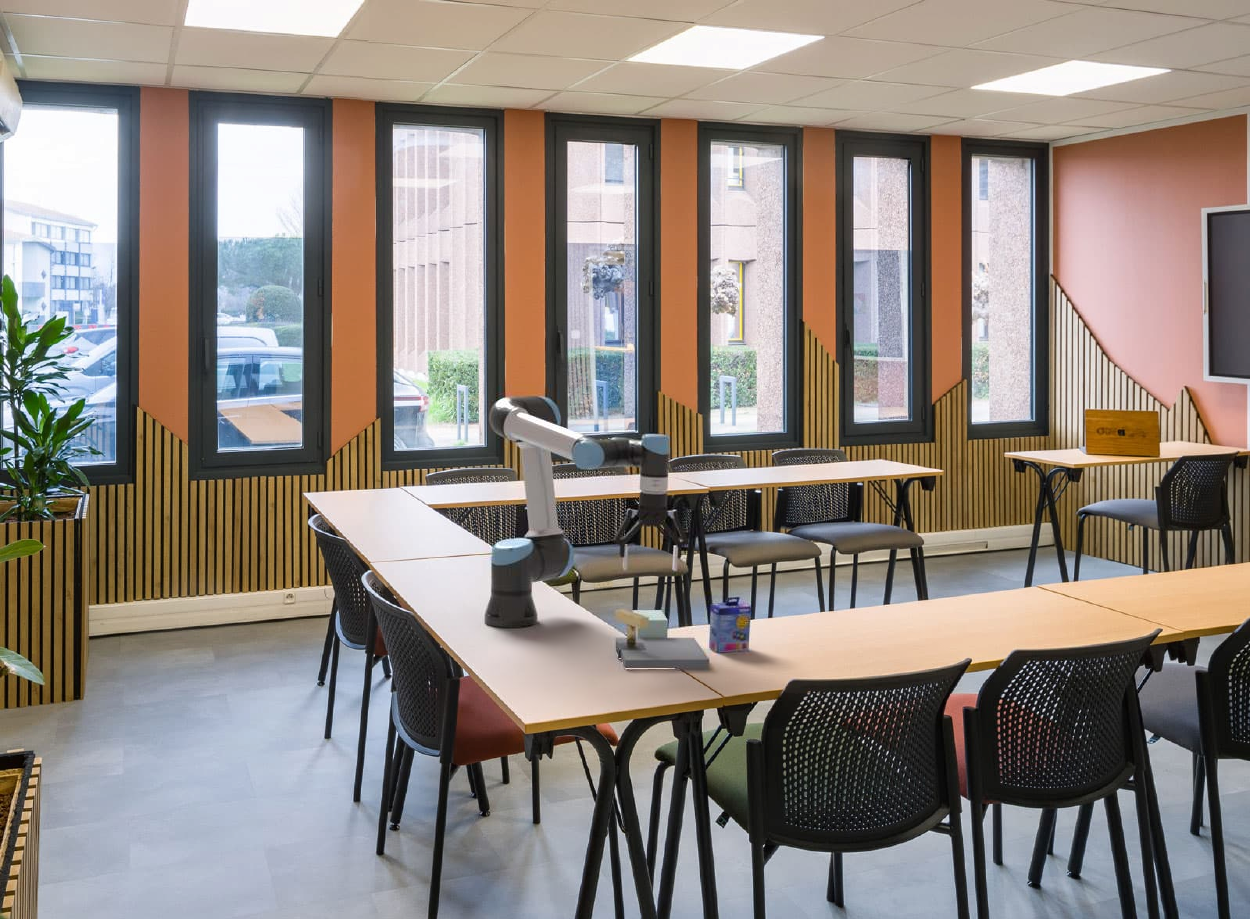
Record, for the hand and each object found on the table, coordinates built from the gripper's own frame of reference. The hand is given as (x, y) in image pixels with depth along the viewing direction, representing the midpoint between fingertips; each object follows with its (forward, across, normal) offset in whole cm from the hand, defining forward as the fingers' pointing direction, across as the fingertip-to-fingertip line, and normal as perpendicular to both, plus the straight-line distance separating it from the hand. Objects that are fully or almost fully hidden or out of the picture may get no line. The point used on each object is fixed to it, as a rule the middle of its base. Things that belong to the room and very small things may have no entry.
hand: (649, 569), depth 315 cm
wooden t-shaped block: (+17, -6, -17) cm, 24 cm away
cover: (+19, +1, -1) cm, 19 cm away
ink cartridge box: (+19, +21, -11) cm, 30 cm away
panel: (+19, +1, -19) cm, 27 cm away
